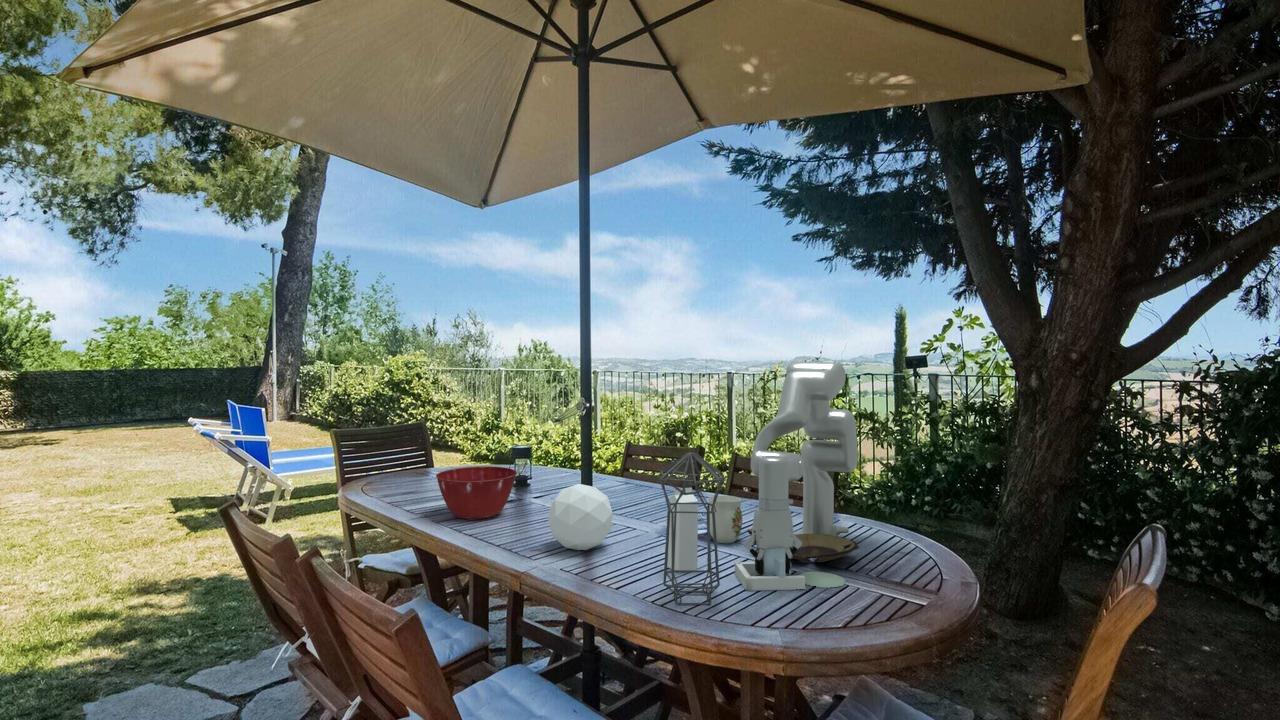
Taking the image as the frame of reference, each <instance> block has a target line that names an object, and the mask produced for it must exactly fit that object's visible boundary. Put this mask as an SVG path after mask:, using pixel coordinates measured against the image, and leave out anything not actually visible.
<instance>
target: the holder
mask: <svg viewBox="0 0 1280 720" xmlns="http://www.w3.org/2000/svg"><path fill="white" fill-rule="evenodd" d="M734 575H735V576H736V578H737V579H738V581H739V582H740V584H741V585H742V586H743V588H744V590H745V591H746V592H748V591H749V592H750V591H789V590H790V591H797V590H796V589H798V591H799V589H805V590H806V585H805V577H804V576H798V575H792V568H791V569H790V570H789V574H788V575H787V574H786V573H785V578H779V577H778V576H760V575H759V574H758V573H757V571H756V570H755V561H735V562H734Z"/></svg>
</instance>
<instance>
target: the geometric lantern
mask: <svg viewBox="0 0 1280 720" xmlns="http://www.w3.org/2000/svg"><path fill="white" fill-rule="evenodd" d="M696 461H697V462H698V463H699V464H700V465H701V466H702V468H704V469H705V470H702V471H700V470H699V467H698V465H697V462H696ZM685 462H686V464H685V468H684V470H683V471H684V472H682V471H677V470H678V469H679V468H680V467H681V466H682V465H683V464H684V463H685ZM690 466H691V473H689V472H690ZM695 470H696V473H695ZM721 473H722V471H721V470H720V469H718V468H717V467H715V466H714V465H712V464H711V463H709V462H708V461H707V460H705V459H704V458H703V457H702V456H700V455H699V454H698V453H697V452H692V451H691V452H687V453H685V454H684V455H682V456H681V457H680V458H677V459H676V460H675V461H673V462H672V463H671V464H669V465H667V466H665V467H664V468H663V469H662V470H660V471H659V475H660V477H659V483H660V485H661V489H662V490H663V495H664V498H665V501H666V507H667V513H666V531H665V532H666V533H665V547H664V548H665V549H664V565H663V566H664V568H663V582H662V585H663V587H666V588H667V589H668V590H670V592H672V593H673V595H674V600H675V601H676V602H675V604H676V603H678V604H677V605H681V604H692V605H693V606H694V604H695V605H697V606H700V605H702V606H704V605H705V606H710V604H712V594H713V593H714V592H715V591H716V590H717V589H718V588H719V587H720V586H721V581H720V580H721V579H720V569H719V555H718V542H717V538H716V523H715V512H717V511H716V508H715V502H716V500H717V497H718V496H719V493H720V492H722V491H723V482H727V481H728V480H727V478H726V477H724V475H722V474H721ZM675 474H676V475H683V476H682V478H680V477H678V476H676V475H675ZM701 474H707V475H706V476H704V477H703V478H701ZM668 475H669V476H668ZM667 476H668V477H667ZM686 476H687V479H686ZM710 476H712V477H714V478H715V479H708V478H709V477H710ZM671 477H672V478H671ZM690 477H692V478H693V479H690ZM696 477H698V479H697V480H696ZM706 479H708V480H706ZM665 482H666V483H667V484H668V485H669V486H671V487H672V488H674V490H675V489H676V490H678V491H679V492H680V495H679V497H678V499H677V501H676V503H670V502H669V497H668V494H667V491H666V486H665ZM672 482H677V483H679V482H680V483H681V485H682V487H683V489H682V488H679V487H678V486H676V485H675V484H674V483H672ZM706 483H709V484H706ZM701 484H706V485H705V486H703V487H702V488H699V487H698V486H699V485H701ZM714 484H716V488H717V489H716V490H715V492H714V495H713V496H714V499H713V503H712V504H710V502H708V501H707V499H706V498H705V496H704V495H703V492H702V491H704V490H706V489H707V488H710V487H711V486H713V485H714ZM687 486H694V487H695V491H692V492H688V493H686V491H685V488H687ZM680 489H682V490H680ZM683 491H684V492H683ZM691 494H693V495H697V496H698V498H699V499H700V502H698V503H678V501H679V500H680V498H681V497H682V495H691ZM715 496H716V497H715ZM668 502H669V503H668ZM677 504H698V505H703V507H704V509H705V510H706V511H698V512H686V511H677ZM671 505H674V506H673V507H672V509H671ZM710 506H712V507H711V511H710ZM674 507H675V511H672V510H673V508H674ZM714 510H715V512H714ZM670 513H671V542H672V569H670V570H668V546H669V528H670ZM677 513H698V514H705V515H706V530H707V532H706V533H707V536H706V537H707V569H703V570H702V569H699V570H698V569H697V570H674V562H675V538H676V514H677ZM710 513H712V522H713V536H714V539H713V548H714V550H713V551H714V563H715V571H714V570H713V569H712V553H711V551H712V550H711V534H710ZM712 570H713V571H712ZM677 572H684V573H707V574H706V576H705V578H704V582H697V583H696V582H695V583H692V582H691V583H689V582H688V583H678V580H677V578H676V574H675V573H677ZM669 574H671V577H670V575H669ZM713 575H714V577H713ZM667 577H668V579H669V580H670V581H671V584H667ZM708 577H709V581H708V582H707V583H706V581H707V579H708ZM715 579H716V583H717V584H715V585H713V582H714V580H715ZM672 588H673V589H672ZM679 589H693V590H679ZM694 589H698V590H694ZM678 596H679V600H678ZM682 596H689V597H690V596H693V597H694V596H701V597H704V596H705V597H706V602H682ZM678 601H679V602H678Z"/></svg>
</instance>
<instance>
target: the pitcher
mask: <svg viewBox="0 0 1280 720" xmlns="http://www.w3.org/2000/svg"><path fill="white" fill-rule="evenodd" d="M715 497H716V496H715ZM713 499H714V495H712V496H709V497H708V501H709V502H708V503H710V504H712V503H713ZM741 504H742V498H740V497H737V496H733V495H718V497H717V500H716V502H715V508H716V511H717V512H715V510H714V512H715V523H716V538H717V543H719V544H732V543H735V542H736V540H737V539H738V538H739V536H740V533H741V531H742V527H743V526H742V525H743V513H742V509H741V506H742V505H741ZM711 507H712V506H710V511H711ZM710 537H711V538H712V539H713V540H714V536H713V522H712V513H710Z"/></svg>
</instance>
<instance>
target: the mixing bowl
mask: <svg viewBox="0 0 1280 720" xmlns="http://www.w3.org/2000/svg"><path fill="white" fill-rule="evenodd" d="M517 474H518V471H517V470H515V469H513V468H510V467H509V468H508V467H503V466H470V467H469V466H468V467H458V468H453V469H447V470H443V471H440V472H438V473H436V475H435V478H436V480H437V483H438V487H439V490H440V493H441V496H442V498H443V501H444V503H445V505H446V507H447V508H448V510H449V511H450V513H452V515H454V516H456V517H457V518H459V517H460V518H459V519H461V518H464V519H463V520H466V519H480V520H485V518H487V519H491V518H493V517H495V516H497V514H499V513H500V512H501V511H502V510H503V509H504V507H505V506H506V505H507V502H508V501H509V498H510V495H511V494H512V490H513V487H514V484H515V480H516V476H517Z"/></svg>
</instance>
